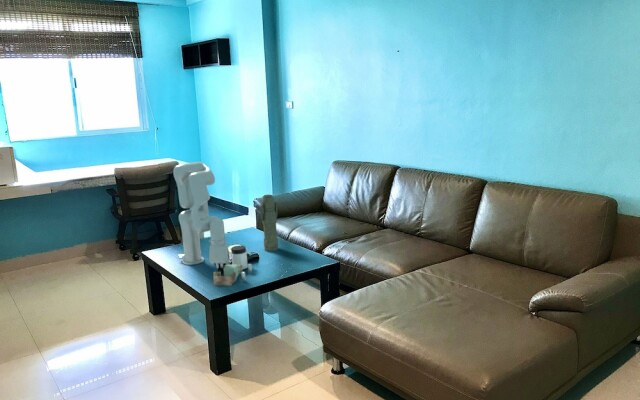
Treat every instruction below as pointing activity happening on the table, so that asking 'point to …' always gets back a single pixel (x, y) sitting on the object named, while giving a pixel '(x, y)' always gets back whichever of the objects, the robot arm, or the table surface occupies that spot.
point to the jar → (239, 256)
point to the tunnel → (226, 277)
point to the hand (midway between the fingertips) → (221, 274)
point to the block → (230, 269)
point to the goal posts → (248, 271)
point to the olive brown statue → (269, 222)
